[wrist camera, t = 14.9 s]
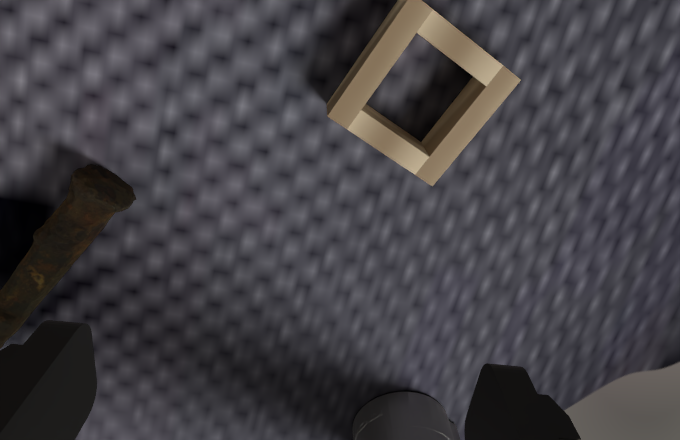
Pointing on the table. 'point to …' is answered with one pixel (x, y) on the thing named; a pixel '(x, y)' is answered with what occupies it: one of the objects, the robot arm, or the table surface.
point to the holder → (456, 121)
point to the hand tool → (62, 242)
